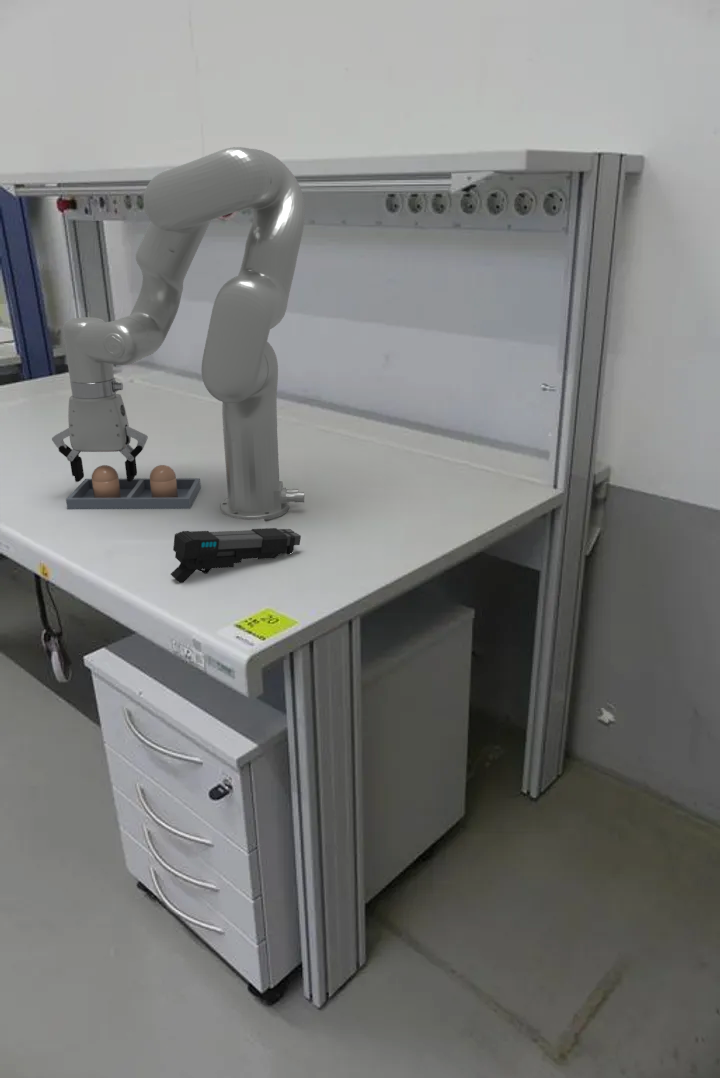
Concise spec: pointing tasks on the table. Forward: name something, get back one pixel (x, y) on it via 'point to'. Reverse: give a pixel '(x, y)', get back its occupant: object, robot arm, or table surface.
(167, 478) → the seated egg
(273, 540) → the gun
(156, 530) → the table surface
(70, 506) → the divided grey tray
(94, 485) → the egg
